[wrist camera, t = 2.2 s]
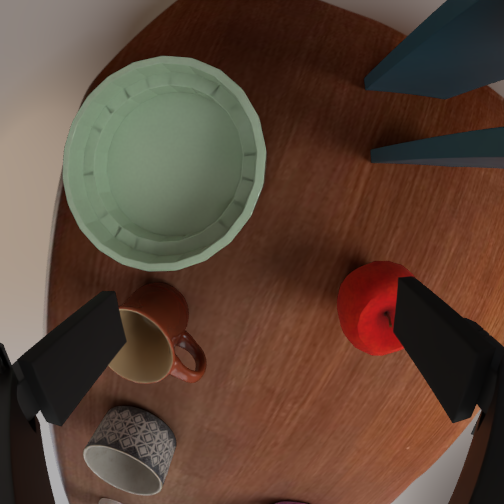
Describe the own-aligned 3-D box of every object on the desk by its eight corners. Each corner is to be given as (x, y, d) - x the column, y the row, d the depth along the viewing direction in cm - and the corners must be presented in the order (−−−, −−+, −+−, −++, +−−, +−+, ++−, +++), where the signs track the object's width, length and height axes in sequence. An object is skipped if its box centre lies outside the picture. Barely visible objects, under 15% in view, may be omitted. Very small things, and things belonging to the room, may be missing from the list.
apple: (369, 231, 34) (407, 256, 23) (408, 284, 35) (450, 322, 25) (311, 282, 36) (326, 326, 25) (355, 330, 37) (379, 381, 26)
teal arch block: (363, 78, 30) (521, -62, 3) (444, 88, 29) (622, 28, 2) (371, 162, 32) (592, 162, 5) (451, 166, 31) (653, 189, 4)
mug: (121, 312, 38) (83, 350, 28) (149, 259, 36) (110, 289, 26) (198, 361, 39) (179, 412, 29) (233, 314, 37) (220, 361, 27)
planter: (159, 460, 46) (143, 502, 36) (99, 424, 45) (75, 462, 35) (191, 431, 43) (176, 480, 33) (122, 388, 42) (94, 432, 32)
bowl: (93, 95, 32) (61, 84, 25) (261, 67, 30) (258, 42, 23) (104, 256, 37) (75, 273, 30) (272, 249, 35) (272, 267, 28)
